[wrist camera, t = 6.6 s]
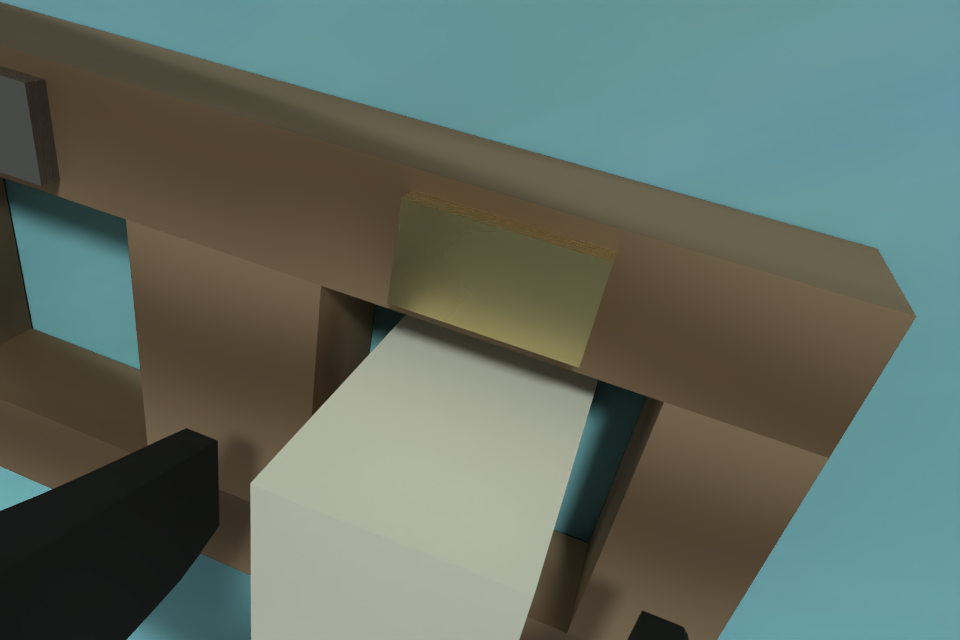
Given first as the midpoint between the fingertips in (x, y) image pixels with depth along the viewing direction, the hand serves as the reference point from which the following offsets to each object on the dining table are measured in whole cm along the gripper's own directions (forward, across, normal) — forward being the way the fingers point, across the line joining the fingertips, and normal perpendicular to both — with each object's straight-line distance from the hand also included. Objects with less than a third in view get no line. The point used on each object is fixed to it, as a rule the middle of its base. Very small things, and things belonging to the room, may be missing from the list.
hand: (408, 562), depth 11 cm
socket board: (+5, +5, 0) cm, 7 cm away
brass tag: (+2, 0, -4) cm, 5 cm away
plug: (+5, 0, 0) cm, 5 cm away
